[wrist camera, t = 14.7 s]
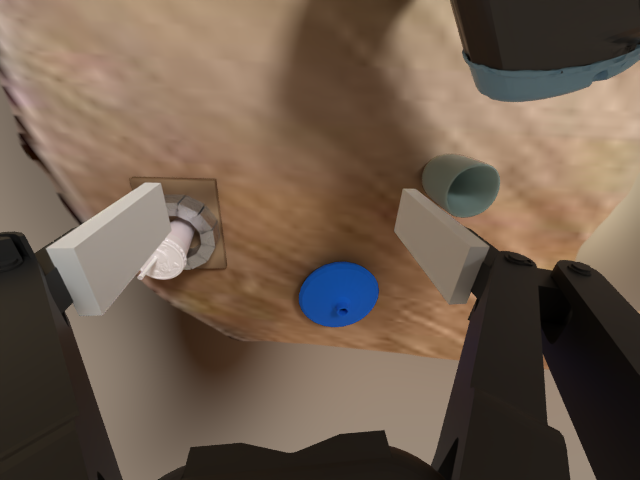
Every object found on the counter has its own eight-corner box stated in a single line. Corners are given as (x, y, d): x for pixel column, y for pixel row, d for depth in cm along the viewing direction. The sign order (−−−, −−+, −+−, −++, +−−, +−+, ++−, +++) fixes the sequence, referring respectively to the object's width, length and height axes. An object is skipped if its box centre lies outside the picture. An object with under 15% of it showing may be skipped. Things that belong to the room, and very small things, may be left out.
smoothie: (188, 203, 42) (149, 250, 30) (211, 236, 46) (183, 291, 33) (153, 218, 43) (100, 270, 31) (177, 250, 46) (138, 308, 34)
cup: (412, 197, 47) (441, 221, 39) (417, 151, 44) (449, 166, 35) (456, 192, 48) (493, 215, 39) (463, 146, 44) (507, 160, 35)
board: (133, 176, 41) (129, 179, 40) (216, 178, 42) (214, 181, 41) (157, 265, 48) (154, 269, 47) (227, 264, 50) (225, 268, 49)
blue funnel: (388, 290, 57) (400, 314, 51) (327, 326, 61) (332, 353, 55) (347, 239, 50) (355, 260, 44) (281, 284, 54) (281, 309, 48)
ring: (135, 193, 41) (122, 202, 38) (214, 195, 42) (208, 203, 39) (153, 258, 46) (143, 270, 43) (222, 257, 48) (218, 269, 45)
